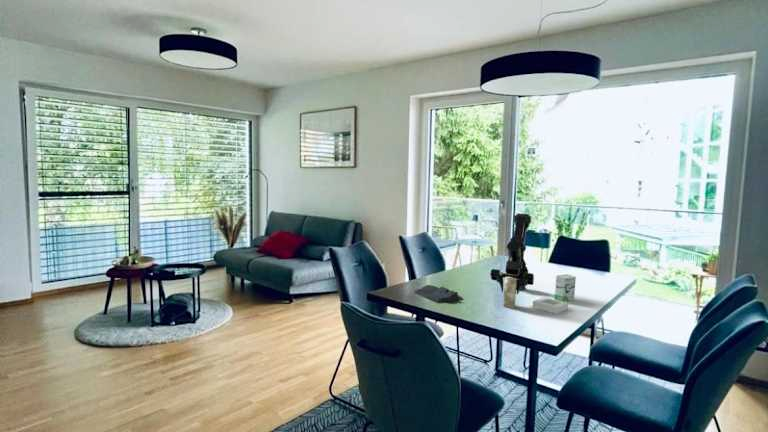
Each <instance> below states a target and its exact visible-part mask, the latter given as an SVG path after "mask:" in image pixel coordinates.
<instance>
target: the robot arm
mask: <svg viewBox="0 0 768 432" xmlns="http://www.w3.org/2000/svg"><path fill="white" fill-rule="evenodd" d="M513 223H514V226H515V227H514V232H513V236H512V237H511V238H510V239H509V242H508V243H507V244H506V250H507V256H508V259H507V260H506V265H505V272H502V271H501V270H500V269H498V268H497V269H494V268H492V269H491V270H490V279H491V280H492V281H496V282H497V283H499V286H500V289H501V293H504V279H505V277H515V278H517V282H516V295H519V293H520V291H523V290H526V289H527V287H526V286H528V285H530V286H533V285H534V283H535V277H534V276H535V275H534V273H532V272H531V273H530V272H529V269H528V266H527V263H526V261H525V259H524V256H525V252H526V250H527V246H526V233H527V230H528V229H529V228H530V224H532V216H530V214H529V213H516V214H515V215H513Z"/></svg>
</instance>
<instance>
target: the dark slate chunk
mask: <svg viewBox="0 0 768 432" xmlns="http://www.w3.org/2000/svg"><path fill="white" fill-rule="evenodd" d="M413 293H414V294H415V295H418V296H419V297H422V298H425V299H427V300H428V301H432V302H433V303H435V304H447V303H455V302H459V301H462V300H464V298H463V297H462V296H461V295H459V293H458V291H454V290H450V289H449V288H445V287H444V286H440V287H437V286H435V285H429V284H427V285H425V286H422V287H421V288H419V289H418V288H417V289H416V290H415V291H414V292H413Z"/></svg>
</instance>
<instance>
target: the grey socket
mask: <svg viewBox="0 0 768 432" xmlns="http://www.w3.org/2000/svg"><path fill="white" fill-rule="evenodd" d="M532 309H536V310H540V311H544V312H547V313H551V314H554V315H558V314H560V313H562V312H565V311H567V310H569V302H568V301H566V302H563V301H559V300H555V298H550V297H546V296H545V297H542V298H538V299H534V300H533V301H532Z"/></svg>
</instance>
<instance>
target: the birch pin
mask: <svg viewBox="0 0 768 432" xmlns="http://www.w3.org/2000/svg"><path fill="white" fill-rule="evenodd" d="M516 282H517V278H515V277H505V278H504V286H503V304H502V305H503V306H502V307H504V308H508V309H514V308H516V297H517V290H516Z"/></svg>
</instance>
